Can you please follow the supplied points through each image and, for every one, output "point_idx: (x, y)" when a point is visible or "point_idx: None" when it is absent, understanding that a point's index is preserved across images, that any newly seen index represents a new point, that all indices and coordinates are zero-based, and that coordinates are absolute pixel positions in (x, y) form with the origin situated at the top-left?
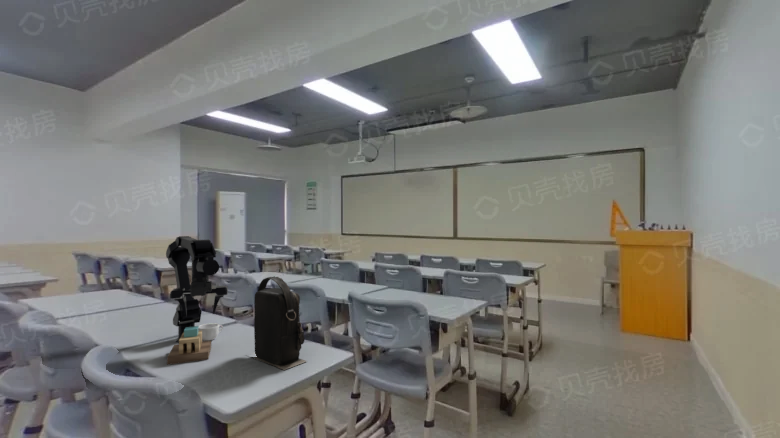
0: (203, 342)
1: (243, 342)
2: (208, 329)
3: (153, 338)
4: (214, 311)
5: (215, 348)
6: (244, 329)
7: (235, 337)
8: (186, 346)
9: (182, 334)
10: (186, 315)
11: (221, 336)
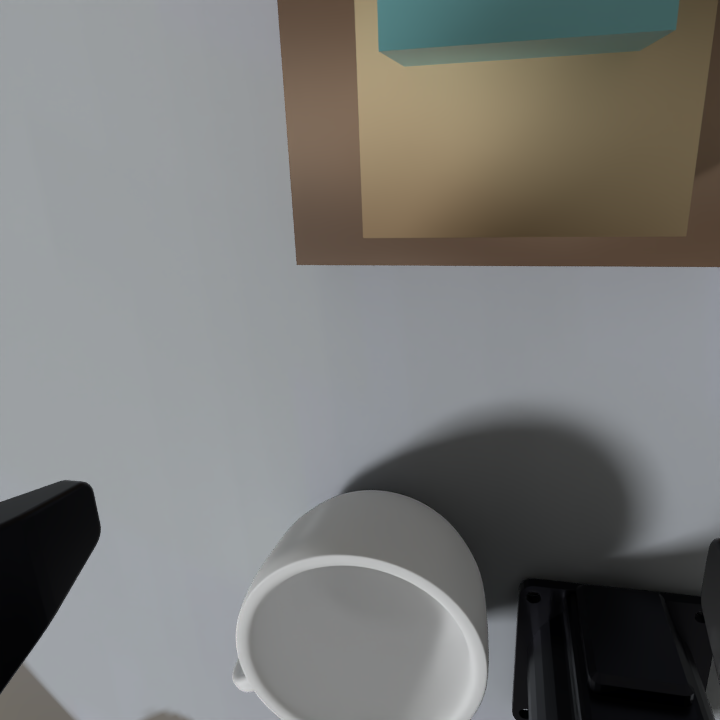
0: None
1: (33, 291)
2: (343, 542)
3: None
4: (19, 500)
5: (271, 192)
6: (110, 681)
7: (140, 488)
8: None
9: (703, 67)
10: (715, 556)
11: None
